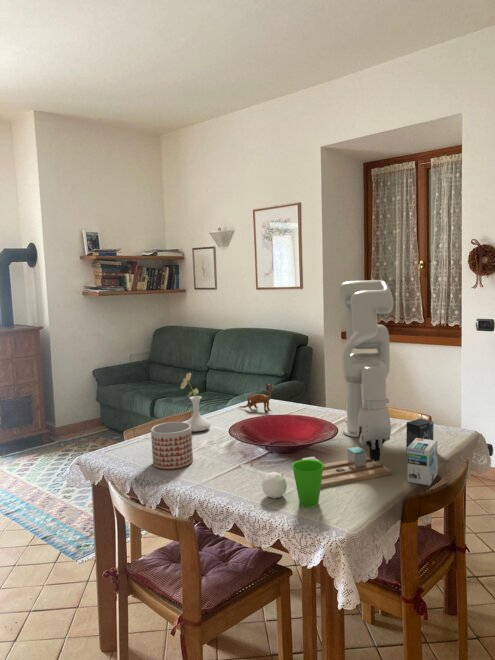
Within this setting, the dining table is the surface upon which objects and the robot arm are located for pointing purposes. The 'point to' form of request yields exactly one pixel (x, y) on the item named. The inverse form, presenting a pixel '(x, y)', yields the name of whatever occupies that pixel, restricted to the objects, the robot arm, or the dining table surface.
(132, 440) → the dining table surface
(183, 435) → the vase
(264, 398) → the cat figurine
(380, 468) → the gauge board
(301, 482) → the cup
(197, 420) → the flower in vase
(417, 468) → the light bulb box
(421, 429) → the box
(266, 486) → the ornament
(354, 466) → the block
